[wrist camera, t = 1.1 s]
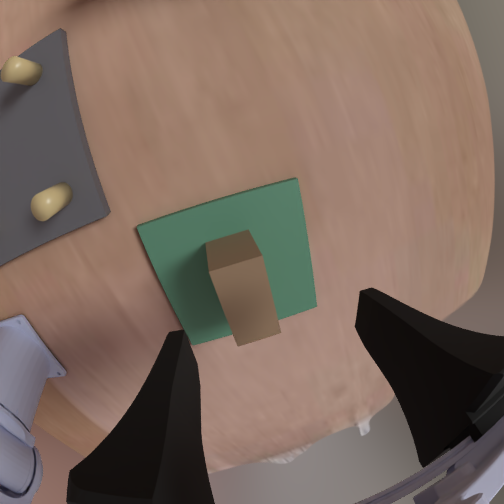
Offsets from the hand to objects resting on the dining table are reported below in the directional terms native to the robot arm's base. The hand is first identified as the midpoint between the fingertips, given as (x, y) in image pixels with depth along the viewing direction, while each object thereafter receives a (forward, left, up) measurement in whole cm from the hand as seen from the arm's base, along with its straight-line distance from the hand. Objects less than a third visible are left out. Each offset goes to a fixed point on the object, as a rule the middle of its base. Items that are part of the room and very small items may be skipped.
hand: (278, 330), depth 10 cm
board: (-1, -2, -10) cm, 10 cm away
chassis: (-15, +12, -10) cm, 21 cm away
